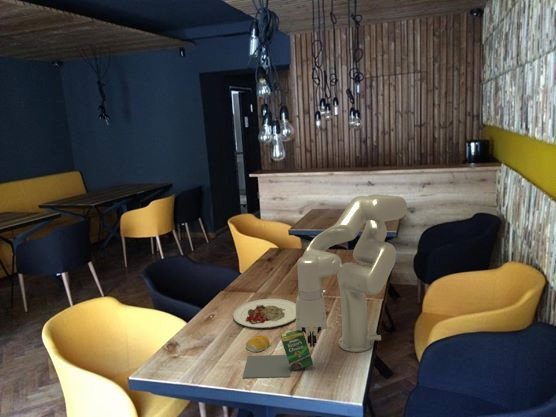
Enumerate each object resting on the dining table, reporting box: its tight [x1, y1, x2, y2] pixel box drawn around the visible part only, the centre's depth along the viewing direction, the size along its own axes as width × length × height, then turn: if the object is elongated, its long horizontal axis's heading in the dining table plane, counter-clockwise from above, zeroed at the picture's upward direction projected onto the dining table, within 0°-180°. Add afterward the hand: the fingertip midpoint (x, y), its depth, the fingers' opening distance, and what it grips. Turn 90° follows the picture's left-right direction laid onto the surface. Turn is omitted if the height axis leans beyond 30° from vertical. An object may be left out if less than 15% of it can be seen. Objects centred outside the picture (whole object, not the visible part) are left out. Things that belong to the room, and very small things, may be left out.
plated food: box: [232, 298, 296, 329], centre depth 197 cm, size 30×30×3 cm
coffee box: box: [280, 329, 314, 372], centre depth 151 cm, size 8×3×13 cm, turn 89°
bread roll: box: [245, 334, 271, 353], centre depth 169 cm, size 8×9×4 cm
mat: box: [242, 354, 292, 380], centre depth 155 cm, size 16×14×1 cm
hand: (312, 344), depth 150 cm, fingers closed
